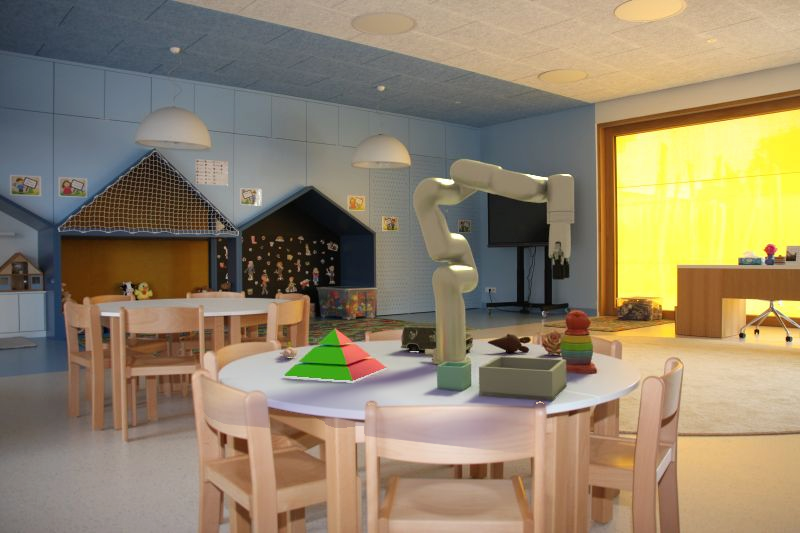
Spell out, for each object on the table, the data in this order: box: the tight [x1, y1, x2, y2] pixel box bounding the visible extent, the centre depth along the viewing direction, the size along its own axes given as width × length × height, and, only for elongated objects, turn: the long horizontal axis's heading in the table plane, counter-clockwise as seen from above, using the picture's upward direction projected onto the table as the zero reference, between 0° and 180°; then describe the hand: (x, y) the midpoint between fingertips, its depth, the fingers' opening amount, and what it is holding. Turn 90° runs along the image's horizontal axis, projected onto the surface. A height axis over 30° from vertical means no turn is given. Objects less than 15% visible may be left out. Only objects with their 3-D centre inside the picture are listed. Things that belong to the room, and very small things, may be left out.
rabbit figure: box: [279, 341, 298, 358], centre depth 224 cm, size 6×6×15 cm
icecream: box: [487, 333, 532, 354], centre depth 228 cm, size 7×7×15 cm
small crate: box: [436, 362, 472, 392], centre depth 171 cm, size 7×7×6 cm
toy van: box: [400, 322, 474, 352], centre depth 233 cm, size 11×25×10 cm, turn 67°
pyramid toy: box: [284, 328, 388, 381], centre depth 193 cm, size 25×25×14 cm
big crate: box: [478, 355, 567, 402], centre depth 165 cm, size 18×18×7 cm
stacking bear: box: [560, 309, 598, 374], centre depth 192 cm, size 11×10×18 cm
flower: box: [540, 329, 564, 356], centre depth 222 cm, size 10×9×8 cm
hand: (561, 278), depth 185 cm, fingers open, 9 cm apart
